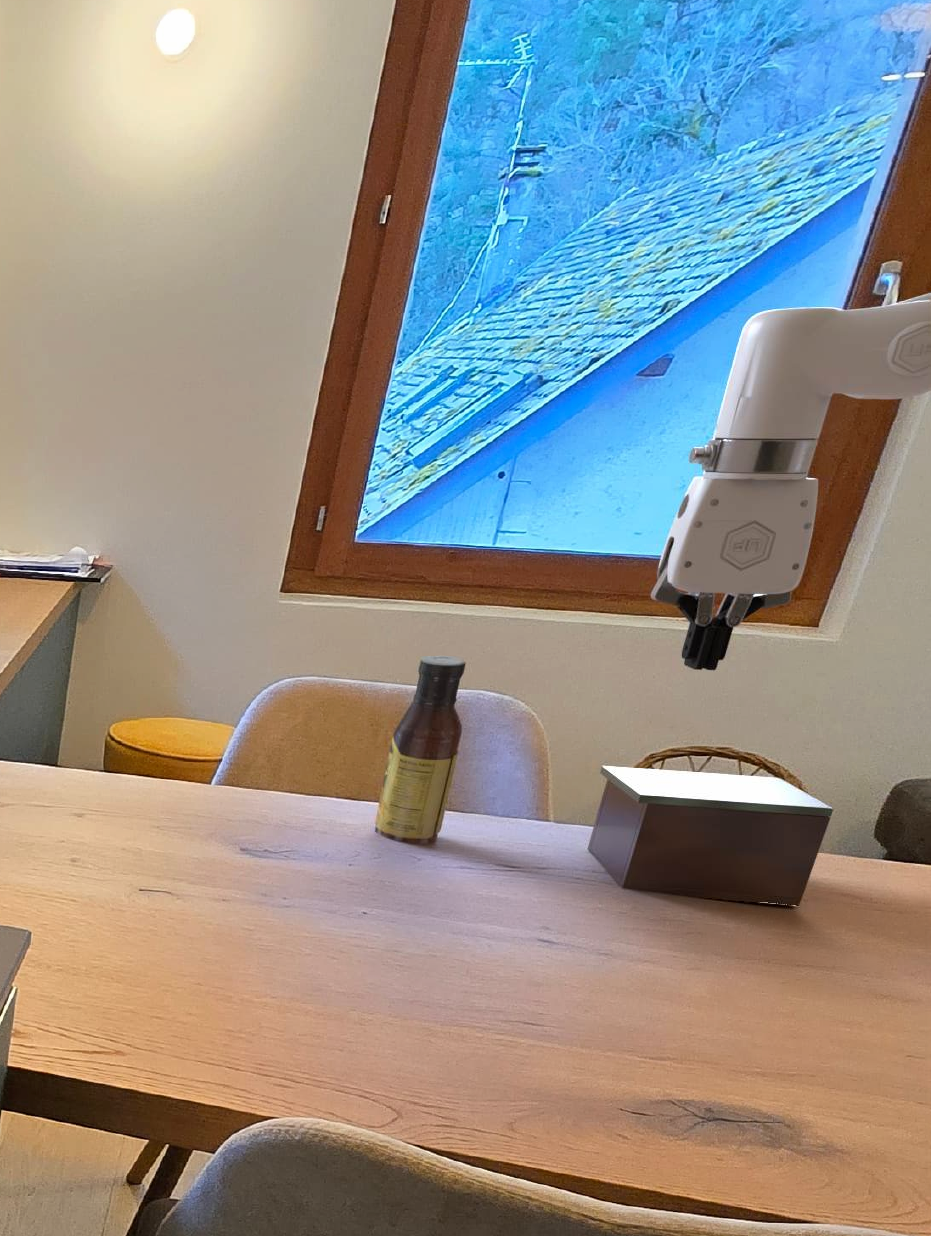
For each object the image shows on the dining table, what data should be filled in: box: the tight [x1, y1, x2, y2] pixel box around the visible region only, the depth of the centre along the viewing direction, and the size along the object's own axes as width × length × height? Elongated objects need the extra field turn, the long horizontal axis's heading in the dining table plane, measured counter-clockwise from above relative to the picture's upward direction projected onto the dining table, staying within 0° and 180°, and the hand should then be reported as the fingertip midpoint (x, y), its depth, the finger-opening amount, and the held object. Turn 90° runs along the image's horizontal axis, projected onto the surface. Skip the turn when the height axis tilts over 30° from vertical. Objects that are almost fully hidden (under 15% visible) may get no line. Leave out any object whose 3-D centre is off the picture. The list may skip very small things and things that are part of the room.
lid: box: [599, 765, 834, 818], centre depth 131 cm, size 15×12×1 cm
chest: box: [587, 778, 831, 907], centre depth 133 cm, size 15×12×9 cm
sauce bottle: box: [374, 655, 466, 845], centre depth 141 cm, size 7×6×20 cm
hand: (699, 667), depth 128 cm, fingers closed
